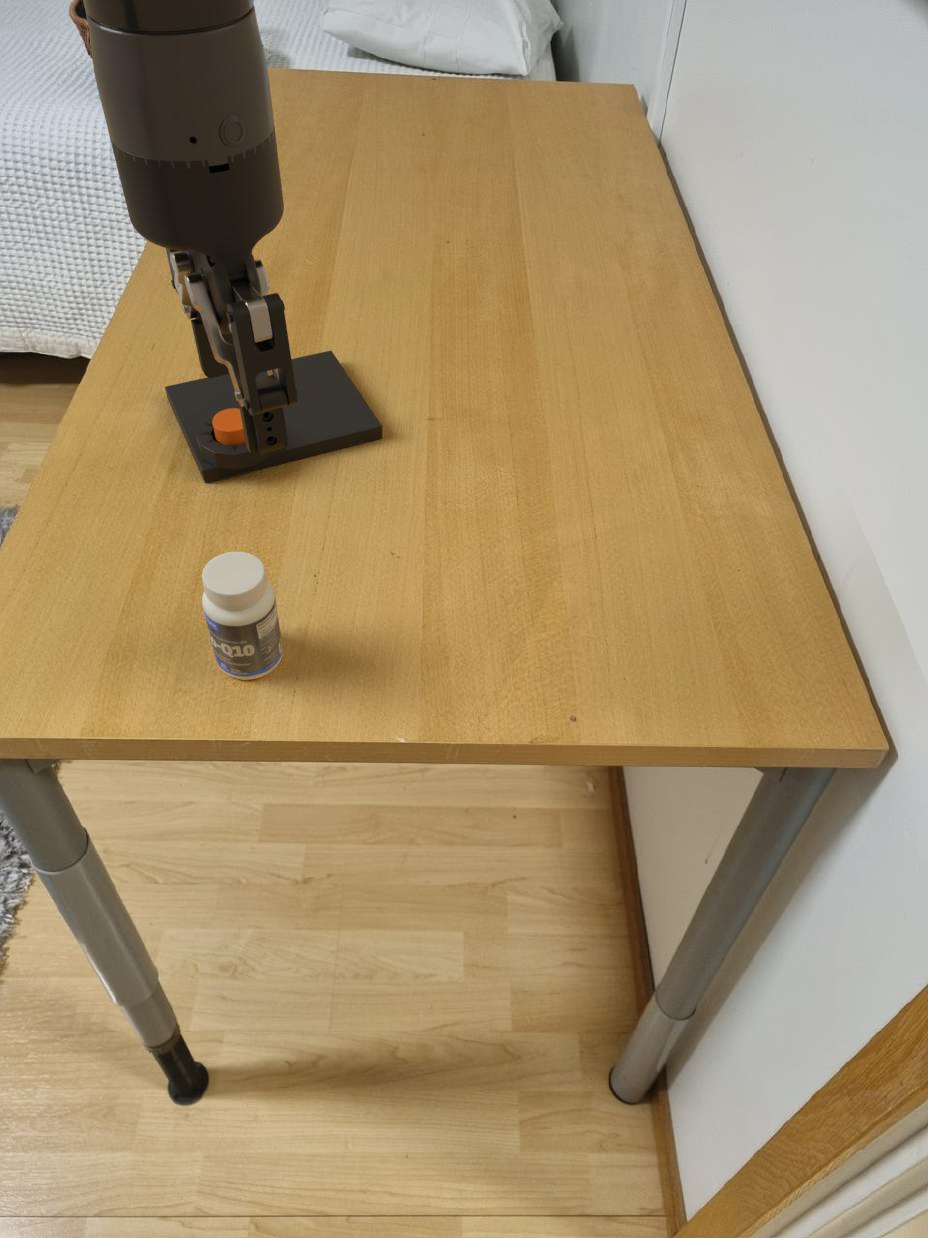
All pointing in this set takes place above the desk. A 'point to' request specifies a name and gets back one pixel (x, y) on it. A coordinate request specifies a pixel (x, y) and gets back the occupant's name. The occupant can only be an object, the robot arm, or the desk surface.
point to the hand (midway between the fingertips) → (243, 410)
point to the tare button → (229, 427)
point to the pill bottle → (241, 615)
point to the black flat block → (312, 425)
